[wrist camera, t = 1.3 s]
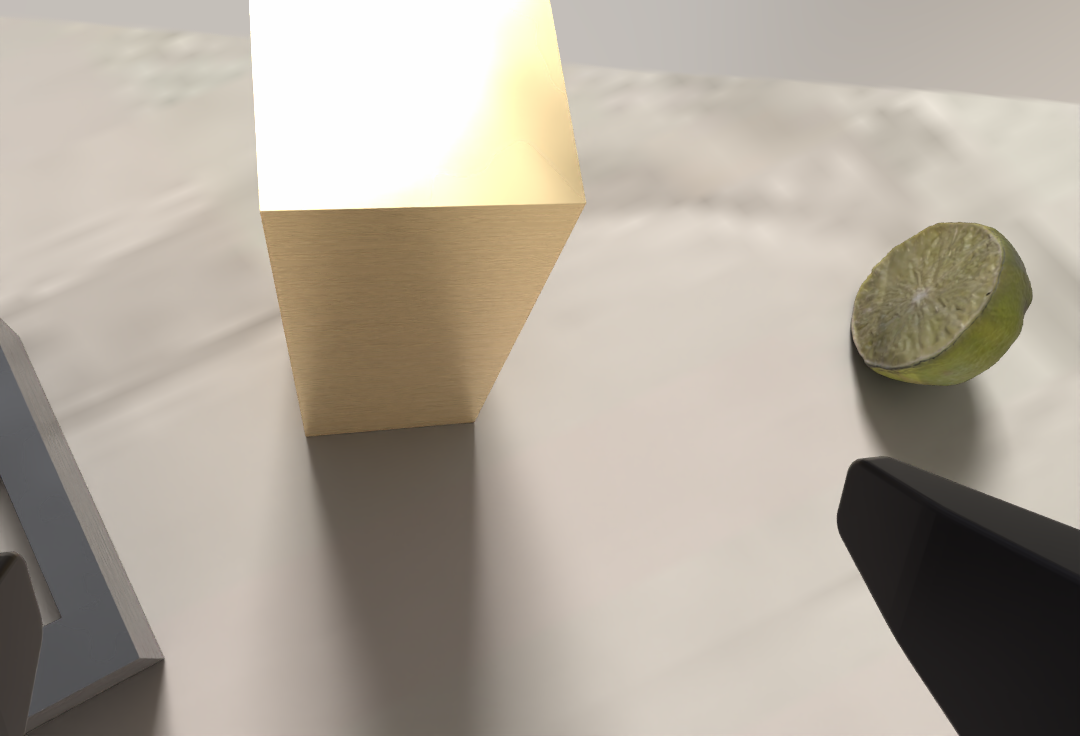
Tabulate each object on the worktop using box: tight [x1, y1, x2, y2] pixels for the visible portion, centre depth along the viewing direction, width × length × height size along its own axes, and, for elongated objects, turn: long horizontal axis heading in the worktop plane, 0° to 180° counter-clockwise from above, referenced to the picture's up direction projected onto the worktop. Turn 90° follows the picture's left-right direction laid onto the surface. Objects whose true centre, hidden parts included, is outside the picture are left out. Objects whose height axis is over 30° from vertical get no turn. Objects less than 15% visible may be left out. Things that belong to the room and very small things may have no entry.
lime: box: [851, 222, 1033, 386], centre depth 25 cm, size 4×5×5 cm
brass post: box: [250, 0, 586, 437], centre depth 18 cm, size 4×4×12 cm
